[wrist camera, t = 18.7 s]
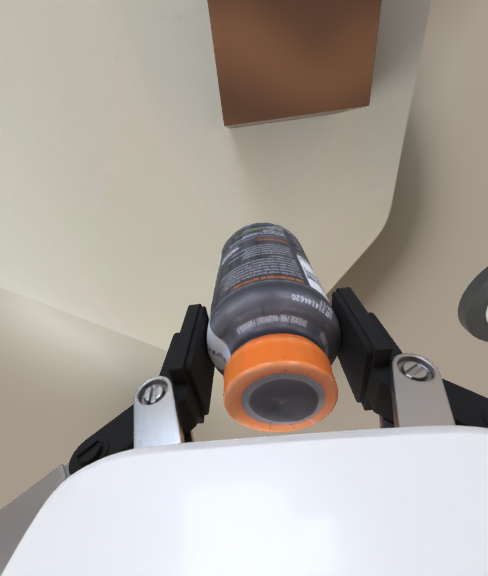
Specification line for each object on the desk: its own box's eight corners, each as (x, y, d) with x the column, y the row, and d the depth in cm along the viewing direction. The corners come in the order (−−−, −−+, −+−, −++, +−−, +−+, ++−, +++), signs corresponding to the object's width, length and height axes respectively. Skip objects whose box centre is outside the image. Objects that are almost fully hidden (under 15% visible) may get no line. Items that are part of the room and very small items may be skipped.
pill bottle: (211, 283, 19) (177, 435, 9) (234, 208, 16) (217, 318, 7) (283, 303, 20) (319, 460, 10) (317, 236, 17) (411, 367, 7)
